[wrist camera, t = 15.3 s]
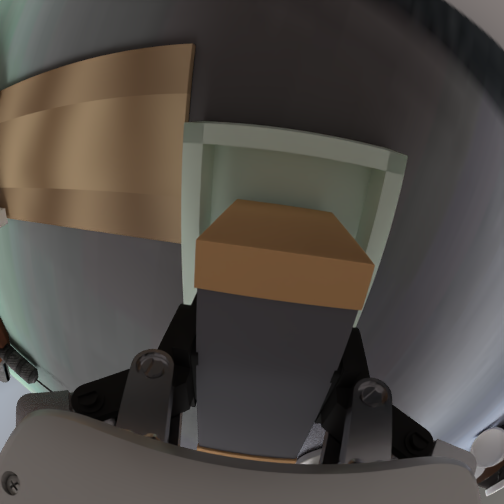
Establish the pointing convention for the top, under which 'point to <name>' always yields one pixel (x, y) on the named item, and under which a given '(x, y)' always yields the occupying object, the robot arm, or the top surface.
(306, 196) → the tray
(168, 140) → the holder
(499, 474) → the spread jar
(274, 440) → the block
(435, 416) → the top surface
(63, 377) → the top surface
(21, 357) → the tool
